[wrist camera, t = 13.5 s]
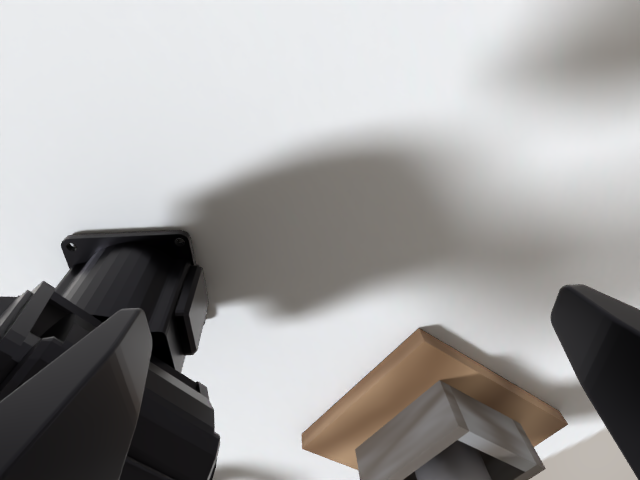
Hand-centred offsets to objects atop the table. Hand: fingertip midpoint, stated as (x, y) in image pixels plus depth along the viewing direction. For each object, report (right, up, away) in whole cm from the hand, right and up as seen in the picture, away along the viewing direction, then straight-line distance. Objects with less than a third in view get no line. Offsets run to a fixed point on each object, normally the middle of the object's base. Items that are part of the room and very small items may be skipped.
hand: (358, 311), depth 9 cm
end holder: (+8, -13, +23) cm, 28 cm away
